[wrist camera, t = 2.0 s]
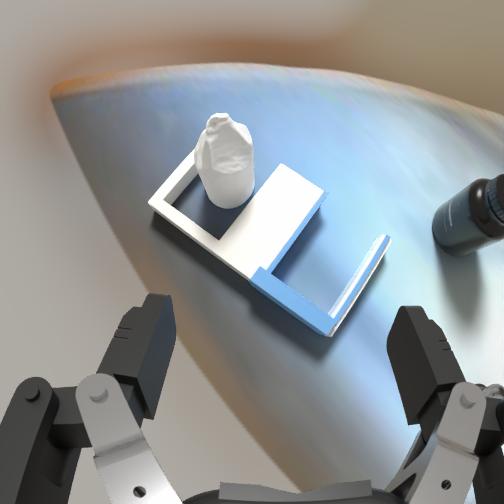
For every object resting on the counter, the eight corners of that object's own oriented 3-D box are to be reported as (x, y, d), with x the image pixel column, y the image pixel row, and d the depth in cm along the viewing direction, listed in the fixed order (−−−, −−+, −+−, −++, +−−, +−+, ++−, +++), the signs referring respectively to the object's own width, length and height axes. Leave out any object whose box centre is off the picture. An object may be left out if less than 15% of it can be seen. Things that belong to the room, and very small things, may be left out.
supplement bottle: (421, 215, 35) (476, 172, 23) (457, 198, 35) (511, 155, 24) (446, 267, 33) (510, 240, 22) (480, 245, 34) (541, 216, 22)
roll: (232, 162, 23) (168, 139, 24) (240, 216, 35) (194, 197, 36) (265, 106, 25) (205, 87, 25) (263, 171, 36) (219, 154, 37)
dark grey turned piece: (450, 425, 29) (512, 449, 17) (464, 379, 30) (531, 388, 19) (482, 426, 28) (543, 446, 17) (495, 383, 30) (559, 390, 18)
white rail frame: (219, 136, 38) (216, 119, 34) (383, 246, 34) (395, 237, 31) (153, 212, 35) (143, 200, 32) (324, 338, 32) (332, 338, 29)
